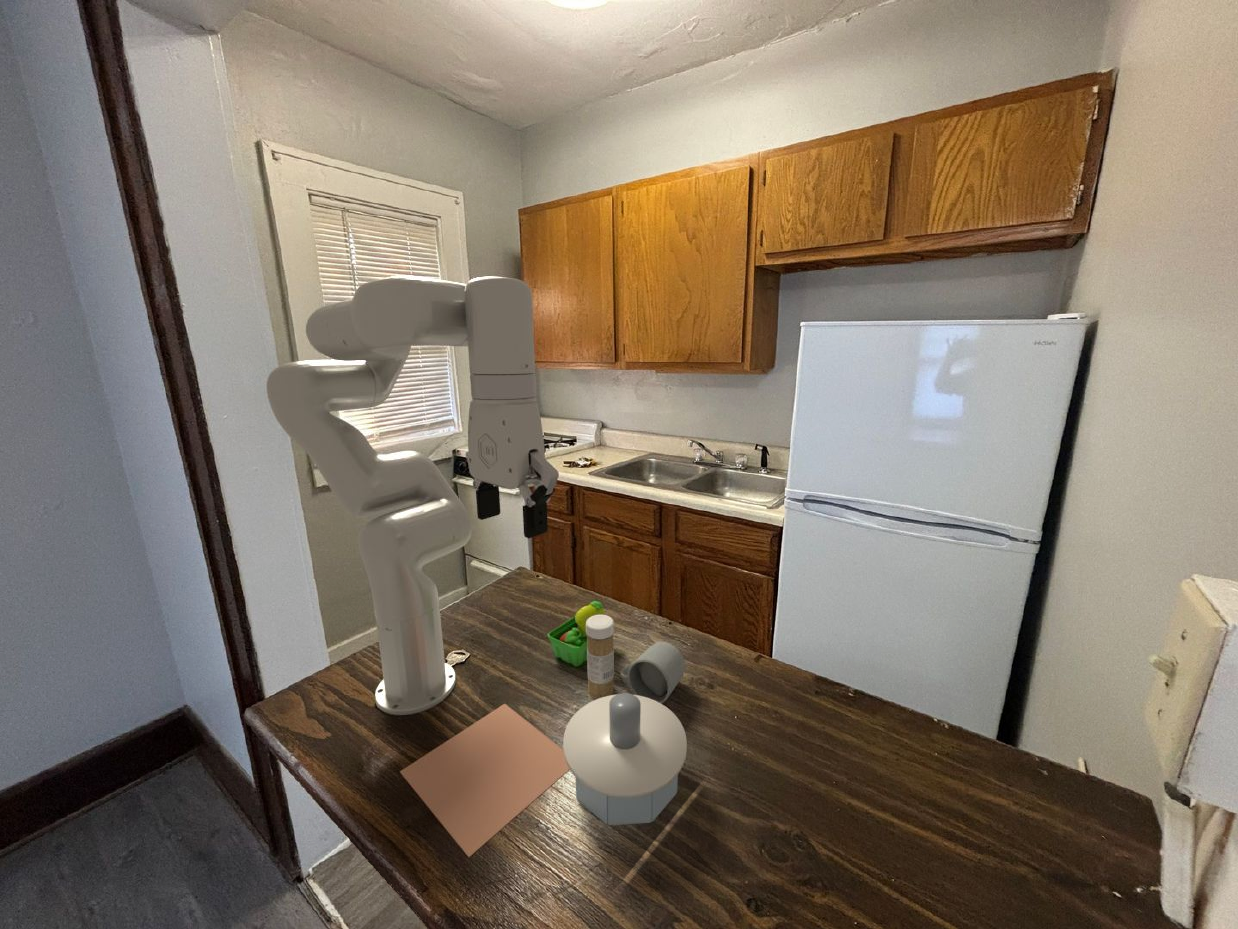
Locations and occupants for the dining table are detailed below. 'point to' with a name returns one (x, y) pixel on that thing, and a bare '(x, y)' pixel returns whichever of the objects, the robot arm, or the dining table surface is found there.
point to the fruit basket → (574, 635)
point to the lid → (625, 745)
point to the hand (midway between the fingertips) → (511, 525)
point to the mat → (486, 776)
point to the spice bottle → (600, 656)
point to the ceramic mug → (655, 672)
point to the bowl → (626, 804)
